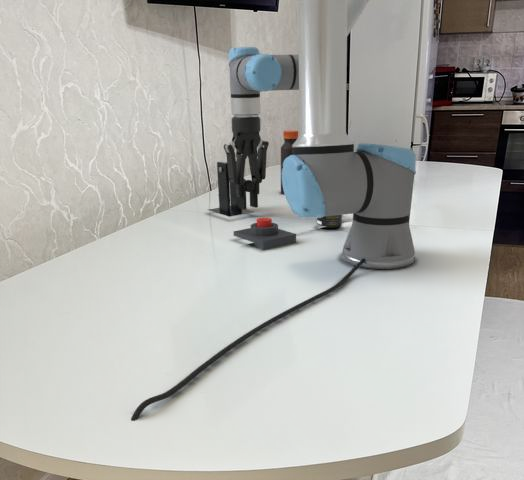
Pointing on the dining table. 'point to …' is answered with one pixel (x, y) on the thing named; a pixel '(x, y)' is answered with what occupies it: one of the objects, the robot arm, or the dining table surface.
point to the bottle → (287, 148)
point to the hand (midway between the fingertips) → (248, 207)
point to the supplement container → (330, 222)
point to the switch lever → (248, 185)
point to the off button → (264, 222)
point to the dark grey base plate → (266, 236)
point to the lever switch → (227, 194)
